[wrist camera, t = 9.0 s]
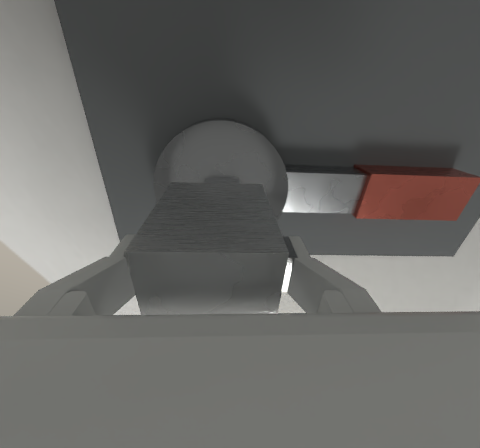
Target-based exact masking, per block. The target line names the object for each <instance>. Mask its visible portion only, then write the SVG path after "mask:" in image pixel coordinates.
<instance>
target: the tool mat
mask: <svg viewBox="0 0 480 448" xmlns="http://www.w3.org/2000/svg"><path fill="white" fill-rule="evenodd" d="M54 1H55V4H56V8H57V12H58V15H59V19H60V23H61V26H62V30H63V34H64V37H65V41H66V45H67V49H68V52H69V56H70V60H71V63H72V67H73V71H74V74H75V78H76V82H77V85H78V89H79V93H80V96H81V100H82V104H83V107H84V111H85V115H86V118H87V122H88V126H89V129H90V133H91V137H92V140H93V144H94V148H95V151H96V155H97V159H98V162H99V166H100V170H101V173H102V177H103V181H104V184H105V188H106V192H107V195H108V199H109V203H110V206H111V210H112V214H113V217H114V221H115V225H116V228H117V232H118V236H119V239H120V242H121V240H122V239H123V238H124V237H125V235H128V234H136V233H137V232H138V230H139V229H140V228H141V226H142V225H143V223H144V222H145V220H146V219H147V217H148V216H149V214H150V213H151V211H152V210H153V208H154V207H155V205H156V204H157V202H156V198H155V194H154V185H153V182H154V172H155V167H156V164H157V162H158V159H159V157H160V155H161V153H162V151H163V150H164V148H165V147H166V146H167V144H168V143H169V142H170V141H171V140H172V139H173V138H174V137H175V136H177V135H178V134H179V133H181V132H182V131H183V130H185V129H186V128H188V127H189V126H191V125H193V124H195V123H197V122H199V121H202V120H205V119H210V118H222V117H224V118H232V119H236V120H240V121H242V122H245V123H247V124H249V125H251V126H252V127H254V128H256V129H257V130H258V131H259V132H261V133H262V134H263V135H264V136H265V137H266V138H267V140H268V141H269V142H270V143H271V144H272V145H273V146H274V147H275V149H276V150H277V152H278V153H279V155H280V157H281V159H282V161H283V163H284V165H311V166H338V167H354V164H355V165H382V166H409V167H435V168H454V169H457V170H460V171H463V172H466V173H469V174H472V175H476V176H479V177H480V0H54ZM479 217H480V183H479V185H478V187H477V188H476V190H475V192H474V193H473V195H472V196H471V198H470V200H469V201H468V203H467V204H466V206H465V208H464V209H463V211H462V213H461V214H460V216H459V217H458V219H457V221H446V220H401V219H356V218H355V217H354V216H353V215H352V214H347V213H304V212H282V213H281V215H280V217H279V219H278V220H277V223H278V226H279V229H280V231H281V234H282V236H283V237H288V236H299V237H300V238H301V240H302V242H303V244H304V245H305V247H306V249H307V251H308V253H309V255H377V256H454V255H455V253H456V252H457V250H458V249H459V247H460V246H461V244H462V243H463V241H464V240H465V238H466V237H467V235H468V234H469V232H470V231H471V229H472V228H473V226H474V225H475V223H476V222H477V220H478V219H479Z"/></svg>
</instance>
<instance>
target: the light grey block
mask: <svg viewBox="0 0 480 448" xmlns="http://www.w3.org/2000/svg"><path fill="white" fill-rule="evenodd" d="M124 254H125V258H126V261H127V265H128V269H129V272H130V276H131V279H132V283H133V287H134V290H135V294H136V298H137V301H138V305H139V308H140V312H141V315H179V314H275V313H278V308H279V303H280V297H281V292H282V287H283V282H284V277H285V272H286V266H287V261H288V256H289V252H288V249H287V246H286V244H285V241H284V239H283V236H282V234H281V231H280V229H279V226H278V223H277V221H276V218H275V216H274V213H273V211H272V208H271V206H270V203H269V200H268V198H267V195H266V193H265V190H264V188H263V185H262V184H231V183H191V182H171V183H170V184H169V186H168V187H167V189H166V190H165V192H164V193H163V195H162V196H161V198H160V199H159V201H158V202H157V204H156V205H155V207H154V208H153V210H152V211H151V213H150V214H149V216H148V217H147V219H146V220H145V222H144V223H143V225H142V226H141V228H140V229H139V230H138V232H137V233H136V235H135V236H134V238H133V239H132V241H131V242H130V244H129V245H128V247H127V248H126V250H125V251H124Z"/></svg>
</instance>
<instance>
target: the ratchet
mask: <svg viewBox="0 0 480 448" xmlns="http://www.w3.org/2000/svg"><path fill="white" fill-rule="evenodd" d="M171 182H191V183H231V184H262V185H263V188H264V190H265V193H266V195H267V198H268V200H269V203H270V206H271V208H272V211H273V213H274V216H275V218H276V221H277V220H278V219H279V217H280V215H281V213H282V212H304V213H347V214H352V215H353V216H354V217H355V218H356V219H401V220H446V221H457V219H458V217H459V216H460V214H461V213H462V211H463V209H464V208H465V206H466V204H467V203H468V201H469V200H470V198H471V196H472V195H473V193H474V192H475V190H476V188H477V187H478V185H479V183H480V177H479V176H476V175H472V174H469V173H466V172H463V171H460V170H457V169H454V168H435V167H409V166H382V165H355V164H354V167H338V166H311V165H284V163H283V161H282V159H281V157H280V155H279V153H278V152H277V150H276V149H275V147H274V146H273V145H272V144H271V143H270V142H269V141H268V140H267V138H266V137H265V136H264V135H263V134H262V133H261V132H259V131H258V130H257V129H256V128H254V127H252V126H251V125H249V124H247V123H245V122H242V121H240V120H236V119H232V118H224V117H222V118H210V119H205V120H202V121H199V122H197V123H195V124H193V125H191V126H189V127H188V128H186V129H185V130H183V131H182V132H181V133H179V134H178V135H177V136H175V137H174V138H173V139H172V140H171V141H170V142H169V143H168V144H167V146H166V147H165V148H164V150H163V151H162V153H161V155H160V157H159V159H158V162H157V164H156V167H155V172H154V182H153V185H154V194H155V198H156V202H158V201H159V199H160V198H161V196H162V195H163V193H164V192H165V190H166V189H167V187H168V186H169V184H170V183H171Z"/></svg>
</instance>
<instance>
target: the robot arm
mask: <svg viewBox="0 0 480 448" xmlns="http://www.w3.org/2000/svg"><path fill="white" fill-rule="evenodd" d="M135 235H136V234H128V235H125V237H124V238H123V239H122V240H121V242H120V243H119V244H118V246H117V247H116V248H115V250H114V251H113V252H112V254H111V255H110V256H109V257H104V258H102V259H100V260H98V261H96V262H94V263H92V264H90V265H88V266H86V267H84V268H82V269H80V270H78V271H76V272H74V273H72V274H70V275H68V276H66V277H64V278H62V279H60V280H58V281H56V282H54V283H52V284H50V285H48V286H46V287H44V288H42V289H40V290H38V292H36V293H35V294H34V296H33V297H31V298H30V299H29V300H28V301H27V302H26V303H25V305H23V307H22V308H21V309H20V310H19V311H18V312H17V313H16V314H15V315H14V316H0V448H480V311H471V312H381V311H380V309H379V308H378V306H377V305H376V303H375V302H374V301H373V299H372V298H371V296H370V295H369V294H368V292H367V291H366V289H364V288H362V287H361V286H359V285H357V284H356V283H354V282H353V281H351V280H349V279H348V278H346V277H344V276H343V275H341V274H340V273H338V272H336V271H335V270H333V269H331V268H330V267H328V266H327V265H325V264H323V263H322V262H320V261H318V260H317V259H315V258H311V257H310V255H309V253H308V251H307V249H306V247H305V245H304V244H303V242H302V240H301V238H300V237H299V236H288V237H283V239H284V241H285V244H286V246H287V249H288V252H289V256H288V261H287V266H286V272H285V277H284V282H283V287H282V292H287V293H288V294H289V295H290V296H291V297H292V298H293V299H294V300H295V301H296V302H297V303H298V305H299V306H300V307H301V308H302V309H303V310H304V311H305V312H306V313H275V314H179V315H113V314H114V313H115V312H117V311H118V310H119V309H120V308H121V307H122V306H123V305H124V304H126V303H127V302H128V301H129V300H130V299H131V298H132V297H134V296H135V295H136V294H135V290H134V287H133V283H132V279H131V276H130V272H129V269H128V265H127V261H126V258H125V254H124V251H125V250H126V248H127V247H128V245H129V244H130V242H131V241H132V239H133V238H134V236H135Z"/></svg>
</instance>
